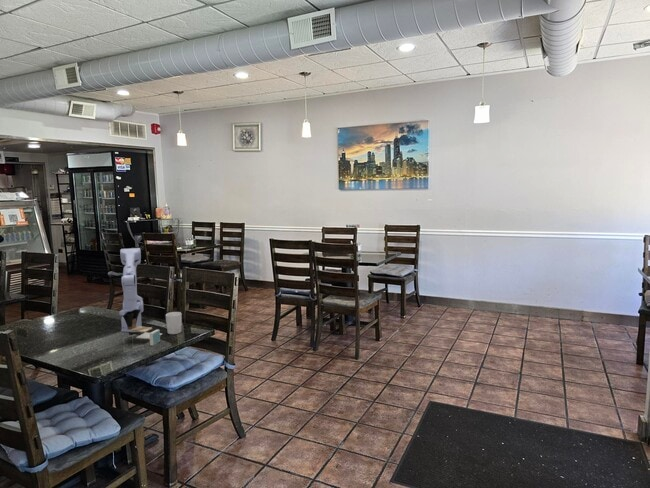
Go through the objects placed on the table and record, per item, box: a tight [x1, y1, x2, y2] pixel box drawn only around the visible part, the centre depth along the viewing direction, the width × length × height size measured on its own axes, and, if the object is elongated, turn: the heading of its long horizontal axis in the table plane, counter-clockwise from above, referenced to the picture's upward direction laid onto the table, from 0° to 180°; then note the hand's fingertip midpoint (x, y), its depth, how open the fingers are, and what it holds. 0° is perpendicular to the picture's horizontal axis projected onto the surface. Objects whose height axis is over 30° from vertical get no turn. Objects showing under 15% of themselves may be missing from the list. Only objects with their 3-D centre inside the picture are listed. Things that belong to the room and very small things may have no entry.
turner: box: [128, 318, 153, 333], centre depth 211 cm, size 11×6×5 cm, turn 79°
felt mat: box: [135, 332, 163, 340], centre depth 220 cm, size 10×8×1 cm
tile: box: [149, 329, 161, 346], centre depth 209 cm, size 2×6×6 cm, turn 169°
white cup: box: [165, 311, 183, 335], centre depth 225 cm, size 8×8×10 cm
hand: (131, 325), depth 212 cm, fingers closed on turner, 3 cm apart
